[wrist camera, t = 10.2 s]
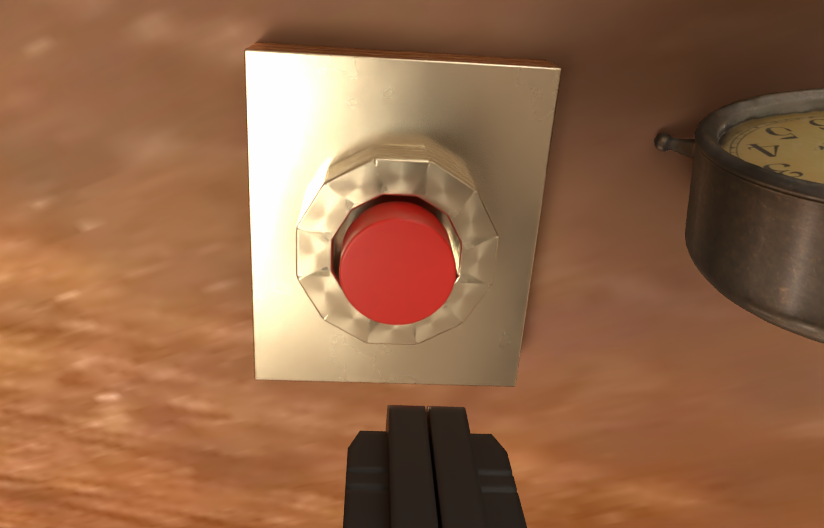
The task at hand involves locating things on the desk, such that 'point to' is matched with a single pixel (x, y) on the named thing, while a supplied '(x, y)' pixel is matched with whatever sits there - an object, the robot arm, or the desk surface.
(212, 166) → the desk surface
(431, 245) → the button
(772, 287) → the alarm clock
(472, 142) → the button box
